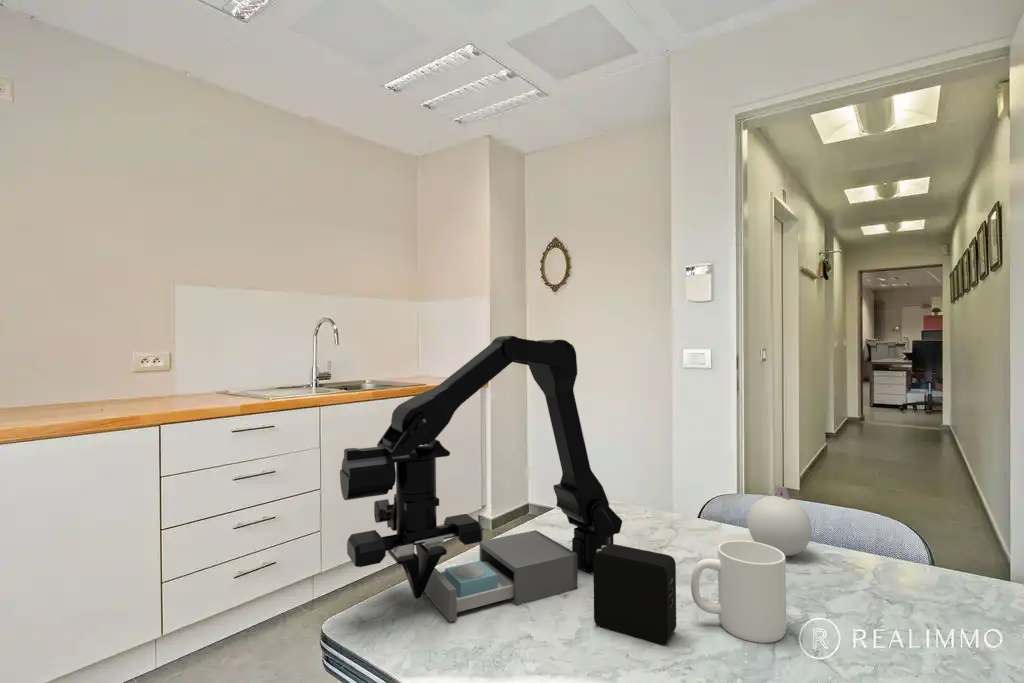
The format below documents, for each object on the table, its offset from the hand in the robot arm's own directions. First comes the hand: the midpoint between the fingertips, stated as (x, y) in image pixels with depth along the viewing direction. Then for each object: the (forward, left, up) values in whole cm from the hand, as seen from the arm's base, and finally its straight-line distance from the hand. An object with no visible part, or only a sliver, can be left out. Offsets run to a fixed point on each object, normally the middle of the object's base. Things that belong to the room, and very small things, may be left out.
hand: (417, 597), depth 77 cm
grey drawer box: (-18, 0, -2) cm, 18 cm away
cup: (-36, +26, -2) cm, 44 cm away
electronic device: (-23, +20, -2) cm, 31 cm away
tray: (-9, 0, -2) cm, 9 cm away
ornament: (-64, +13, -2) cm, 65 cm away
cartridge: (-8, 0, 0) cm, 9 cm away
